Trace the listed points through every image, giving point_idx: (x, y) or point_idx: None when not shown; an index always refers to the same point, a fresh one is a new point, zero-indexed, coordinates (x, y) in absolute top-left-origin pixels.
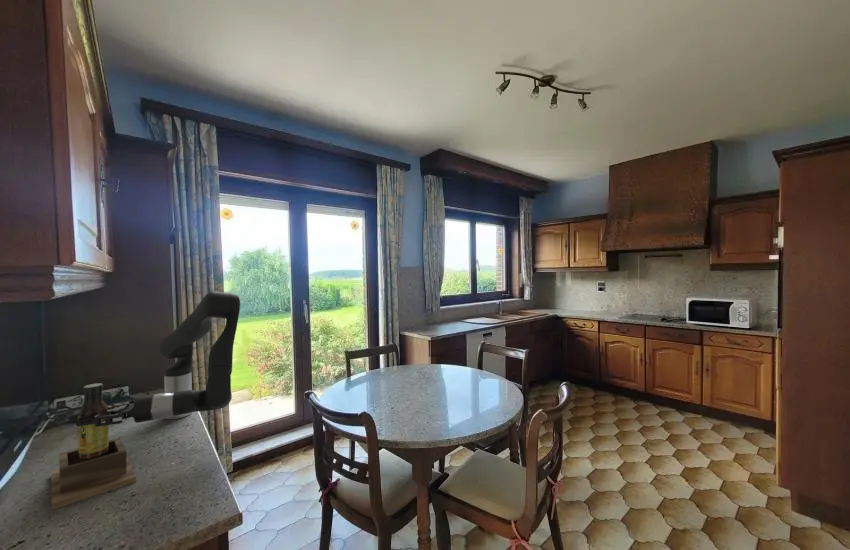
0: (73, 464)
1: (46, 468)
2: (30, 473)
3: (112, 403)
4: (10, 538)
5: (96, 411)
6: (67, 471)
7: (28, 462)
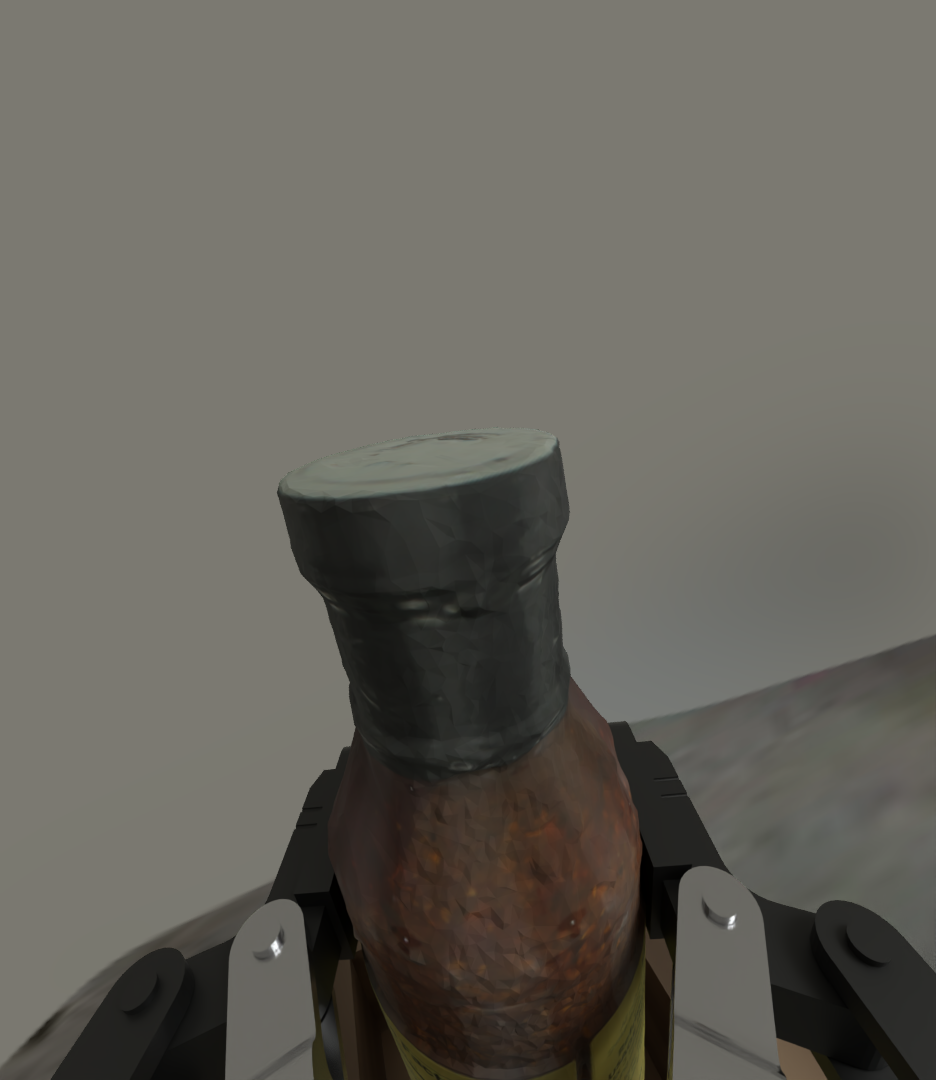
0: (350, 986)
1: (720, 773)
2: (678, 742)
3: (886, 944)
4: (129, 956)
5: (335, 873)
6: None
7: (769, 691)
